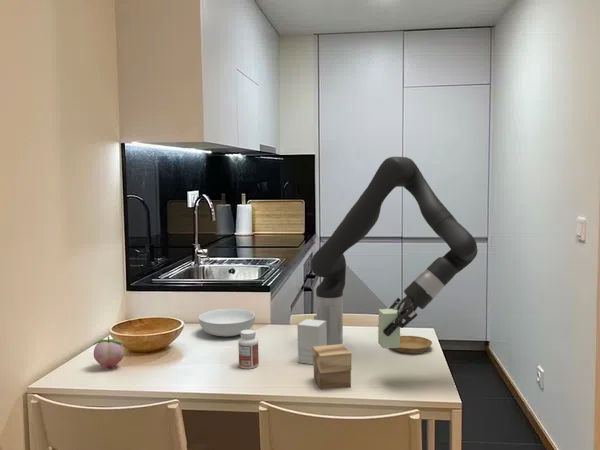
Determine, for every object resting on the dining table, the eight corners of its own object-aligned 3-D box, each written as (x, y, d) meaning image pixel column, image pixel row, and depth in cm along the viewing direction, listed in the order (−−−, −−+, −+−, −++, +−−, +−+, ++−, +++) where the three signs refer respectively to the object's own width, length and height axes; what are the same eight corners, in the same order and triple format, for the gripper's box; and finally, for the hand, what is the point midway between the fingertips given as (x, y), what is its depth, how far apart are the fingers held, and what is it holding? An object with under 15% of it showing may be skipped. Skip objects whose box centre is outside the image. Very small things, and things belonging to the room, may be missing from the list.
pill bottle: (254, 361, 195) (253, 327, 194) (261, 367, 189) (261, 332, 188) (236, 364, 192) (235, 330, 191) (242, 370, 187) (242, 335, 185)
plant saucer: (379, 350, 206) (379, 342, 206) (402, 340, 218) (402, 332, 217) (418, 359, 197) (418, 351, 197) (439, 348, 208) (439, 340, 208)
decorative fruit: (126, 362, 195) (125, 331, 194) (123, 370, 187) (122, 339, 186) (96, 364, 193) (94, 333, 192) (91, 372, 185) (90, 340, 184)
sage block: (378, 342, 177) (378, 309, 176) (394, 342, 178) (395, 308, 177) (382, 348, 172) (383, 313, 171) (399, 347, 173) (400, 313, 172)
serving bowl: (187, 335, 224) (186, 317, 223) (225, 323, 241) (224, 306, 241) (229, 345, 212) (229, 325, 212) (266, 331, 229) (266, 313, 229)
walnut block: (313, 378, 180) (313, 362, 179) (343, 377, 181) (343, 360, 181) (319, 390, 171) (319, 373, 170) (350, 388, 172) (350, 371, 172)
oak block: (312, 362, 179) (312, 346, 178) (341, 360, 181) (341, 344, 180) (320, 373, 170) (320, 355, 170) (351, 370, 172) (351, 353, 172)
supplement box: (327, 358, 197) (327, 320, 196) (318, 365, 190) (318, 326, 189) (306, 355, 200) (306, 318, 199) (297, 362, 193) (296, 323, 192)
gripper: (407, 275, 181) (367, 316, 181) (423, 285, 167) (380, 329, 167) (424, 292, 182) (384, 332, 182) (441, 303, 168) (398, 347, 168)
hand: (382, 331), depth 174 cm, fingers closed on sage block, 5 cm apart
